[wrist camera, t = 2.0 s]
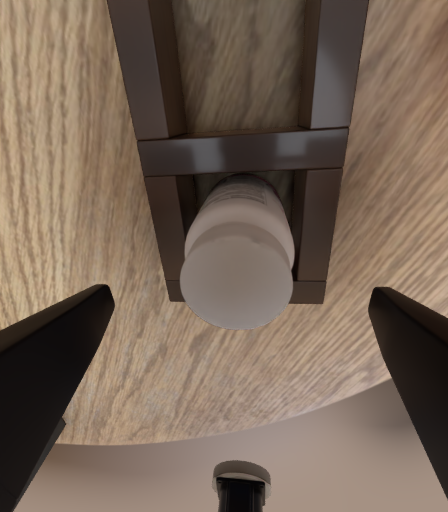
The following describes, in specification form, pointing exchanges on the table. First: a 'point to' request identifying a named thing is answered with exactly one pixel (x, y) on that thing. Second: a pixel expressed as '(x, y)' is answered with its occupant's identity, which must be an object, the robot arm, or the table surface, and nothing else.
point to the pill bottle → (239, 255)
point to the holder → (243, 132)
